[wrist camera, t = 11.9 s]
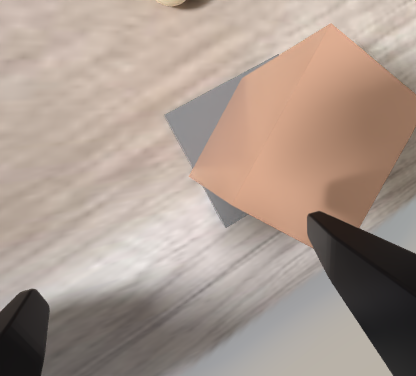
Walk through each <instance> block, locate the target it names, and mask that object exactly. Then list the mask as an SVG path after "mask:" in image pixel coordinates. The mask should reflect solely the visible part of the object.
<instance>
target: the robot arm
mask: <svg viewBox="0 0 416 376" xmlns="http://www.w3.org/2000/svg"><path fill="white" fill-rule="evenodd" d="M307 235H308V238H309V240H310V242H311V244H312V246H313V248H314V250H315V252H316V254H317V256H318V258H319V260H320V262H321V264H322V266H323V268H324V270H325V272H326V273H327V275H328V277H329V279H330V280H331V282H332V284H333V285H334V286H335V288H336V290H337V291H338V293H339V294H340V296H341V297H342V299H343V300H344V302H345V303H346V305H347V306H348V308H349V309H350V311H351V312H352V314H353V315H354V317H355V318H356V320H357V321H358V323H359V324H360V326H361V327H362V329H363V331H364V332H365V333H366V335H367V336H368V338H369V340H370V341H371V343H372V344H373V346H374V347H375V349H376V350H377V352H378V353H379V355H380V356H381V358H382V359H383V361H384V362H385V363H386V365H387V367H388V368H389V370H390V371H391V373H392V374H393V376H416V254H415V253H413V252H411V251H408V250H406V249H404V248H402V247H400V246H397V245H395V244H393V243H391V242H388V241H386V240H384V239H382V238H379V237H377V236H375V235H373V234H371V233H368V232H366V231H364V230H362V229H360V228H357V227H355V226H353V225H351V224H348V223H346V222H344V221H342V220H340V219H337V218H335V217H333V216H331V215H328V214H326V213H324V212H322V211H316V212H312V213H309V214H308V215H307ZM48 320H49V305H48V303H47V302H46V301H45V299H44V298H43V297H42V296H41V294H40V293H39V292H38V291H37V290H36V289H29V290H26V291H22V292H20V293H19V294H18V295H17V296H16V297H15V298H14V299H13V300H12V301H11V302H10V303H9V304H8V305H7V306H6V307H5V308H4V309H3V310H2V311H1V312H0V376H41V372H42V367H43V362H44V356H45V348H46V339H47V329H48Z"/></svg>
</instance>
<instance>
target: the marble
mask: <svg viewBox="0 0 416 376" xmlns="http://www.w3.org/2000/svg"><path fill="white" fill-rule="evenodd" d="M156 1H157V2H158V3H160V4H162V5H165V6H177V5H179V4H181V3H183V2H184V1H186V0H156Z"/></svg>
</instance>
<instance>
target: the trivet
mask: <svg viewBox="0 0 416 376" xmlns="http://www.w3.org/2000/svg"><path fill="white" fill-rule="evenodd" d="M277 56H279V54H278V55H276V56H274V57H272V58H270V59H268V60H266V61H265V62H263V63H261V64H259V65H257V66H255V67H253V68H251V69H250V70H248V71H246V72H244V73H242V74H240V75H238V76H237V77H235V78H233V79H231V80H229V81H227V82H225V83H223V84H222V85H220V86H218V87H216V88H214V89H212V90H210V91H208V92H207V93H205V94H203V95H201V96H199V97H197V98H195V99H193V100H192V101H190V102H188V103H186V104H184V105H182V106H180V107H178V108H177V109H175V110H173V111H171V112H169V113H167V114H165V115H164V117H165V119H166V120H167V122H168V124H169V126H170V128H171V130H172V131H173V133H174V135H175V137H176V139H177V141H178V142H179V144H180V146H181V148H182V150H183V152H184V153H185V155H186V157H187V159H188V161H189V163H190V164H191V166H192V168H194V166H195V164H196V162H197V160H198V158H199V157H200V155H201V153H202V151H203V149H204V147H205V145H206V144H207V142H208V140H209V138H210V136H211V134H212V133H213V131H214V129H215V127H216V125H217V123H218V121H219V120H220V118H221V116H222V114H223V112H224V110H225V108H226V107H227V105H228V103H229V101H230V99H231V97H232V96H233V94H234V92H235V90H236V88H237V86H238V84H239V83H240V81H241V79H242V78H243V77H244V76H246V75H248V74H249V73H251V72H253V71H254V70H256V69H257V68H259V67H261V66H262V65H264V64H266V63H267V62H269V61H270V60H272V59H274V58H275V57H277ZM203 188H204V190H205V192H206V194H207V196H208V197H209V199H210V201H211V203H212V205H213V207H214V208H215V210H216V212H217V214H218V216H219V218H220V219H221V221H222V223H223V225H224V227H225V228H227V227H228V226H230V225H232V224H233V223H235V222H237V221H238V220H240V219H242V218H243V217H245V216H246V215H248V214H247V213H245V212H244V211H242V210H240V209H238V208H236V207H234V206H232V205H231V204H229V203H228V202H226V201H225V200H223V199H222V198H220V197H219V196H217V195H216V194H214V193H213V192H211V191H210V190H208V189H207V188H205V187H204V186H203Z"/></svg>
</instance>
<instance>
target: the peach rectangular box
mask: <svg viewBox="0 0 416 376" xmlns="http://www.w3.org/2000/svg"><path fill="white" fill-rule="evenodd" d="M415 127H416V94H415V93H414V92H412V91H411V90H410V89H409V88H408V87H406V86H405V85H404V84H403V83H402V82H400V81H399V80H398V79H397V78H396V77H394V76H393V75H392V74H391V73H390V72H389V71H387V70H386V69H385V68H384V67H383V66H381V65H380V64H379V63H378V62H377V61H375V60H374V59H373V58H372V57H371V56H369V55H368V54H367V53H366V52H365V51H364V50H362V49H361V48H360V47H359V46H358V45H356V44H355V43H354V42H353V41H352V40H350V39H349V38H348V37H347V36H346V35H344V34H343V33H342V32H341V31H340V30H339V29H337V28H336V27H335V26H334V25H333V24H329V25H327V26H326V27H324V28H322V29H321V30H319V31H318V32H316V33H314V34H313V35H311V36H309V37H308V38H306V39H305V40H303V41H301V42H300V43H298V44H296V45H295V46H293V47H292V48H290V49H288V50H287V51H285V52H283V53H282V54H280V55H279V56H277V57H275V58H274V59H272V60H270V61H269V62H267V63H266V64H264V65H262V66H261V67H259V68H257V69H256V70H254V71H253V72H251V73H249V74H248V75H246V76H244V77H243V78H242V79H241V81H240V83H239V84H238V86H237V88H236V90H235V92H234V94H233V96H232V97H231V99H230V101H229V103H228V105H227V107H226V108H225V110H224V112H223V114H222V116H221V118H220V120H219V121H218V123H217V125H216V127H215V129H214V131H213V133H212V134H211V136H210V138H209V140H208V142H207V144H206V145H205V147H204V149H203V151H202V153H201V155H200V157H199V158H198V160H197V162H196V164H195V166H194V168H193V170H192V171H191V173H190V175H189V177H190V178H192V179H193V180H195V181H196V182H198V183H199V184H201V185H202V186H204V187H205V188H207V189H208V190H210V191H211V192H213V193H214V194H216V195H217V196H219V197H220V198H222V199H223V200H225V201H226V202H228V203H229V204H231V205H232V206H234V207H236V208H238V209H240V210H242V211H244V212H245V213H247V214H249V215H251V216H253V217H255V218H257V219H259V220H261V221H262V222H264V223H266V224H268V225H270V226H272V227H274V228H276V229H278V230H279V231H281V232H283V233H285V234H287V235H289V236H291V237H293V238H295V239H296V240H298V241H300V242H302V243H304V244H306V245H308V246H310V247H312V248H313V246H312V244H311V242H310V240H309V238H308V235H307V215H308V214H309V213H312V212H316V211H322V212H324V213H326V214H328V215H331V216H333V217H335V218H337V219H340V220H342V221H344V222H346V223H348V224H351V225H353V226H355V227H357V228H359V227H360V226H361V224H362V222H363V220H364V218H365V217H366V215H367V213H368V211H369V209H370V208H371V206H372V204H373V202H374V200H375V199H376V197H377V195H378V193H379V192H380V190H381V188H382V186H383V184H384V183H385V181H386V179H387V177H388V175H389V174H390V172H391V170H392V168H393V167H394V165H395V163H396V161H397V159H398V158H399V156H400V154H401V152H402V150H403V149H404V147H405V145H406V143H407V141H408V140H409V138H410V136H411V134H412V133H413V131H414V129H415ZM313 249H314V248H313Z"/></svg>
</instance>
